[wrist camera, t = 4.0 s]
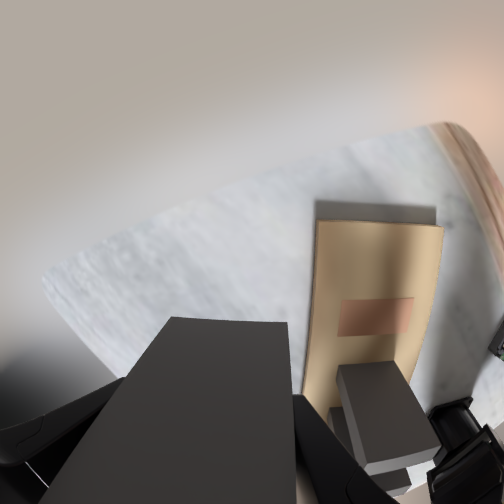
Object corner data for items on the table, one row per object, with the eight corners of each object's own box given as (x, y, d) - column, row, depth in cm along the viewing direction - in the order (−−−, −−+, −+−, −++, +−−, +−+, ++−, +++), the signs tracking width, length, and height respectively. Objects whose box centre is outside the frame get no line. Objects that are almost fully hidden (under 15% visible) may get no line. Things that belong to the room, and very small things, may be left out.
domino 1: (171, 316, 12) (33, 509, 2) (287, 322, 11) (296, 584, 2) (175, 347, 12) (68, 535, 2) (285, 353, 12) (286, 589, 2)
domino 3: (329, 407, 21) (345, 499, 12) (380, 402, 21) (411, 484, 11) (326, 418, 22) (340, 507, 12) (376, 413, 21) (403, 494, 12)
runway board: (436, 225, 18) (444, 227, 17) (367, 461, 25) (369, 468, 24) (316, 219, 19) (319, 221, 18) (289, 468, 26) (289, 475, 24)
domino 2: (338, 364, 20) (367, 463, 10) (394, 360, 20) (441, 445, 10) (335, 379, 21) (359, 477, 11) (389, 374, 20) (431, 460, 10)
